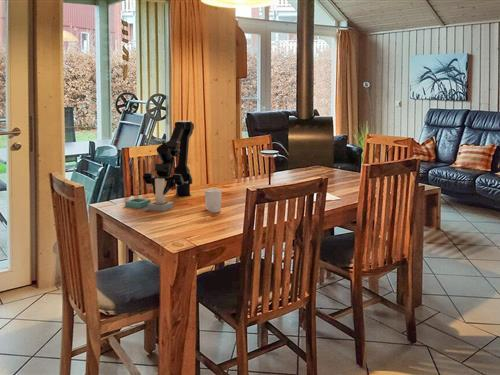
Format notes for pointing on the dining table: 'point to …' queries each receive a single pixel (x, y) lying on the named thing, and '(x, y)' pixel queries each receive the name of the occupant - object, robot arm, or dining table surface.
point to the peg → (159, 191)
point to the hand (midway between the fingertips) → (159, 194)
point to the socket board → (148, 205)
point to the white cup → (213, 199)
